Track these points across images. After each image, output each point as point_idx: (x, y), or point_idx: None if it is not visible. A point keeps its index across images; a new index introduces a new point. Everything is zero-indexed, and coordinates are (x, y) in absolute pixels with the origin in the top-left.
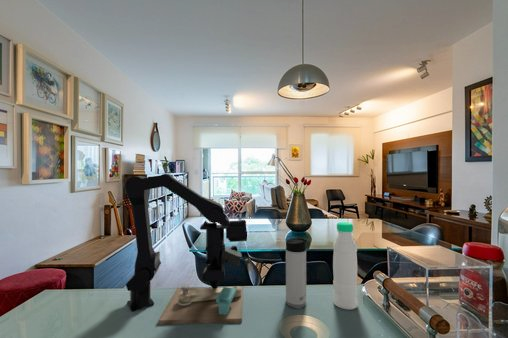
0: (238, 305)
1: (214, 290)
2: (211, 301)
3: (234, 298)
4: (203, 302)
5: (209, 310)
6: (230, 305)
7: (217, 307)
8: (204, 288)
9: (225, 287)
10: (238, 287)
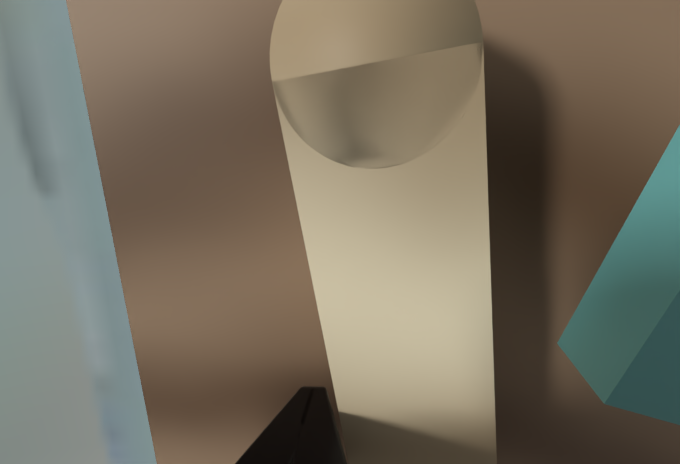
0: (677, 45)
1: (414, 445)
2: None
3: None
4: None
5: None
6: (636, 172)
7: None
8: (179, 451)
9: (625, 366)
10: (335, 23)
